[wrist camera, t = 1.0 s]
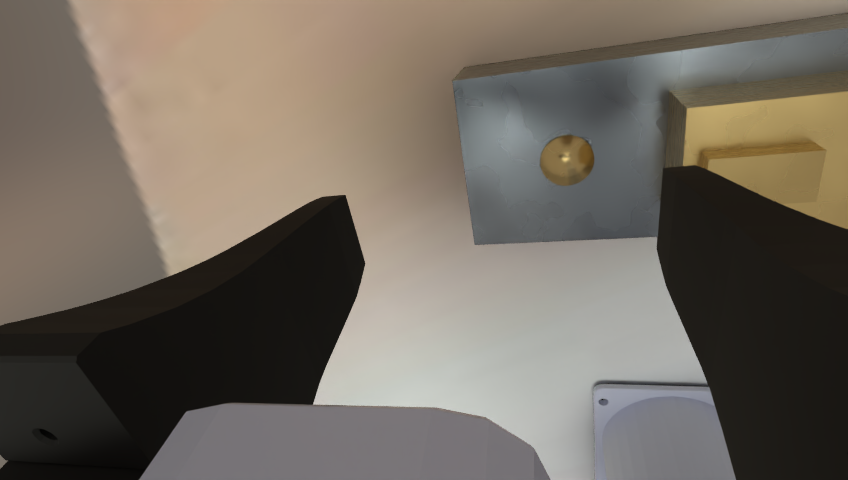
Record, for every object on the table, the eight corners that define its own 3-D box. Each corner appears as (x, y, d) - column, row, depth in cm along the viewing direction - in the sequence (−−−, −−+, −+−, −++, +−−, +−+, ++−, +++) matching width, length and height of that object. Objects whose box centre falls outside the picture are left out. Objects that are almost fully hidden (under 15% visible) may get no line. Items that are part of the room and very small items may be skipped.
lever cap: (882, 193, 17) (948, 237, 14) (663, 206, 19) (683, 247, 16) (917, 62, 15) (1001, 83, 12) (669, 91, 17) (693, 114, 14)
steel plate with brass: (1002, 184, 19) (1076, 219, 16) (482, 215, 24) (474, 245, 22) (1079, -20, 16) (1187, -18, 13) (463, 67, 21) (451, 81, 18)
